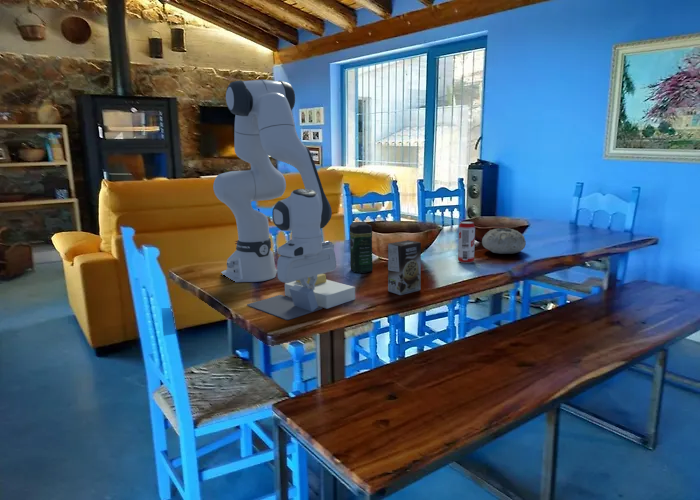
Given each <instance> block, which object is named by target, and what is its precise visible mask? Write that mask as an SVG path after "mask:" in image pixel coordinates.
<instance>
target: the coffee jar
mask: <svg viewBox="0 0 700 500" xmlns="http://www.w3.org/2000/svg"><path fill="white" fill-rule="evenodd" d="M349 241H350V244H349V245H350V246H349V249H350V250H349V254H350V258H349V261H350V262H349V263H350V269H351V270H352V272H354V273H361V274H367V273H369V272H372V271H373V267H374V265H373V227H372V225H371V224H368V223H366V222H364V221H353V222H351V223H350V225H349Z"/></svg>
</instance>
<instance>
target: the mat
mask: <svg viewBox="0 0 700 500" xmlns="http://www.w3.org/2000/svg"><path fill="white" fill-rule="evenodd" d="M247 306H248V307H250V308H253V309H256V310H258V311H260V312H264V313H266V314H269V315H271V316H275V317H277V318H280V319H282V320H285V321H290V320H293V319H296V318H300V317H302V316H305V315H308V314H312V313H314V312H317V311H319V310H322V309H323V307H320V306H318V308H316V309H315V310H314V311H309V310H306V309H303V308H300V307H297V306H295V305H294V302H293V299H292V298H291V297H288V296H285V295H283V294H279V295H275V296H272V297H267V298H264V299H262V300H257V301H254V302H251V303H250V302H249V303H247V304H246V307H247Z"/></svg>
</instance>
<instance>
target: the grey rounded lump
mask: <svg viewBox="0 0 700 500" xmlns="http://www.w3.org/2000/svg"><path fill="white" fill-rule="evenodd" d="M481 239H482V240H481V244H482V246H483V248H485V249H486V250H488V251H490V252H491V253H493V254H500V255H503V254H504V255H505V254H506V255H508V254H509V255H510V254H511V255H513V254H517V253H520V252H521V251H524V249H525V247H526V245H527V244H526V243H527V242H526V239H525V236H524V235H523V234H522V233H521V232H519V231H518V230H516V229H514V228H508V227H507V228H506V227H505V228H493V229H489V231H487V232H486V233H485V234H484V236H482V238H481Z"/></svg>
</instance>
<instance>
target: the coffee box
mask: <svg viewBox="0 0 700 500" xmlns="http://www.w3.org/2000/svg"><path fill="white" fill-rule="evenodd" d="M387 244H388V245H387V247H388V250H387V252H388V253H387V254H388V256H387V257H388V259H387V269H388V270H387V276H388V277H387V281H388V282H387V285H388V286H387V291H388V292H389V293H393V294H396V295H398V296H403V295H407V294H411V293H414V292H419V291H421V286H422V285H421V284H422V283H421V281H422V280H421V279H422V278H421V273H422V272H421V269H422V265H421V264H422V242H420V241H417V240H416V241H415V240H409V239H408V240H402V241H395V242H390V243H387Z"/></svg>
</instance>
